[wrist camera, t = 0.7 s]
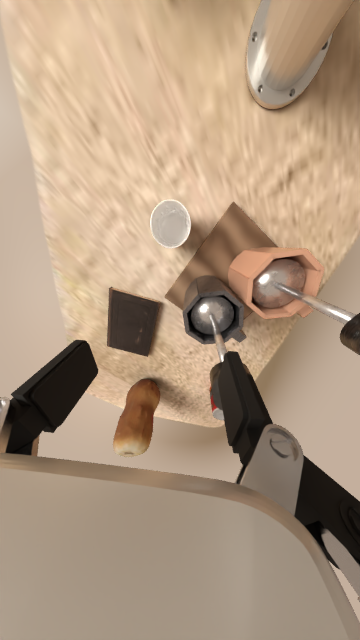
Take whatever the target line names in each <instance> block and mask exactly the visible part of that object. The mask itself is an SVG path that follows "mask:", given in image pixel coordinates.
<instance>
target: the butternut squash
mask: <svg viewBox="0 0 360 640" xmlns="http://www.w3.org/2000/svg"><path fill="white" fill-rule="evenodd" d="M159 401H160V391H159V388H158V387H157V385H156V383H154V382H153V381H151V380H149V379H141V380H140V381H138V382H137V383H136V384H135V385H133V386H132V387H131V389H130V390H129V392H128V394H127V399H126V406H125V409H124V411H123V413H122V415H121V416H120V419H119V422H118V426H117V429H116V433H115V436H114V442H113V447H114V451H115V452H116V453H117V454H118V455H120V456H124V457H133V456H137V455H140V454H143V453H144V452H145V451H146V450H147V449H148V447H149V444H150V441H151V437H152V432H153V415H154V412H155V410H156V408H157V406H158V404H159Z"/></svg>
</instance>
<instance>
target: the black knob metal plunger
mask: <svg viewBox="0 0 360 640" xmlns="http://www.w3.org/2000/svg"><path fill="white" fill-rule="evenodd" d="M304 281H305V273H304V270H303V268H302V266H301V265H300V264H299V263H297V262H296V261H293V260H288V259H279V260H275V261H272V262H270V263H269V264H268V265H267V266H266V267H265V268H264V269H263V270H262V271H261V273H260V274H259V275H258V276H257V277H256V278H255V279H254V280H253V288H252V297H253V299H254V300H255V301H256V302H257V303H258V304H259V305H261V306H263V307H267V308H276V307H280V306H283V305H285V304H287V303H289V302H290V301H292V300H293V299H294V298H295V299H297V300H298V301H300V302H302V303H304V304H306V305H308V306H310V307H312V308H314V309H316V310H318V311H320V312H322V313H324V314H326V315H327V316H329V317H331V318H333V319H335V320H337V321H339V322H341V323H343V324H345V326H344V327H343V329H342V331H341V333H340V340H341V342H342V344H343V345H345V346H346V347H348V348H349V349H351V350H352V351H354V352H355V353H357V354H358V355H360V313H359V314H357V315H355V314H353V313H351V312H348V311H346V310H343V309H341V308H339V307H336V306H334V305H331V304H329V303H327V302H325V301H322V300H320V299H318V298H315V297H313V296H311V295H308V294H306V293H303V292H301V289H302V287H303V285H304Z"/></svg>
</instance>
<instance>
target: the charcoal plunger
mask: <svg viewBox="0 0 360 640" xmlns="http://www.w3.org/2000/svg"><path fill="white" fill-rule="evenodd" d="M233 317H234V311H233V308H232V306H231V304H230V303H229V301H228V300H227V299H225V298H224V297H221V296H218V295H217V296H209V297H203V298H201V299H199V300H198V301H197V302H196V303H195V305H194V306H193V308H192V311H191V321H192V324H193V325H194V327H195V328H196V329H197V330H199V331H200V332H202V333H205V334H214V338H215V342H216V346H217V350H218V354H219V358H220V363H218V364H217V365H215V366H214V367H213V368H212V369H211V371H210V381H211V388H212V395H213V402H214V404H215V406H216V407H217V408H219V409H220V410H222V404H221V398H220V393H219V387H218V379H219V375H220V371H221V366H222V362H223V358H224V354H225V353H227V350H226V347H225V344H224V341H223V338H222V335H221V332H222V331H224V330H225V329H227V328H228V327H229V325H230V324H231V323H232V320H233ZM242 364H243V363H242ZM243 366H244V369H245V371H246V373H248V374H250V372H249V369H248V368H247V366H246V365H245V364H243ZM222 411H223V410H222Z"/></svg>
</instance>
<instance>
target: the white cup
mask: <svg viewBox="0 0 360 640" xmlns="http://www.w3.org/2000/svg"><path fill="white" fill-rule="evenodd" d="M150 227H151V232H152V234H153V237H154V238H155V240H156V241H157V242H158V243H159V244H160V245H161V246H163V247H166V248H177V247H179V246H181V245H182V244H183V243H184V242H185V241H186V240H187V238H188V236H189V234H190V230H191V219H190V215H189V212H188V211H187V209H186V207H185V206H184V205H183V204H182V203H180V202H179V201H177V200H173V199H168V200H164V201H162V202H160V203H159V204H158V205H157V206H156V207H155V208H154V210H153V212H152V215H151V220H150Z"/></svg>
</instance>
